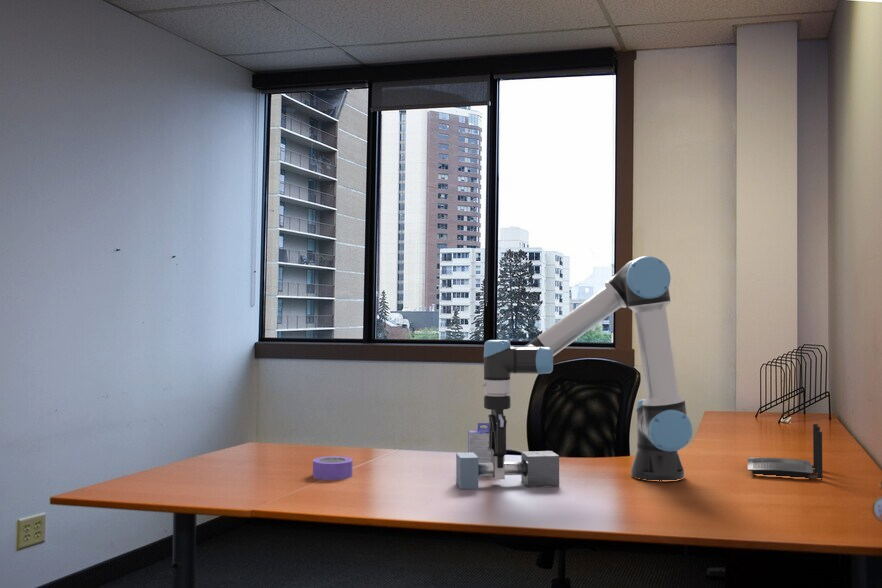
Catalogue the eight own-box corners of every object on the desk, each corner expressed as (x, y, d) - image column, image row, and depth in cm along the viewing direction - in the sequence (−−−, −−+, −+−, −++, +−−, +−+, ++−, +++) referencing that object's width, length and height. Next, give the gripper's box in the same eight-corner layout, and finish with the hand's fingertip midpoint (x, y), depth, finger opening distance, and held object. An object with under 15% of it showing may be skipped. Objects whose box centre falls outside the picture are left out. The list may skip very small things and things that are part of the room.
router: (748, 465, 263) (747, 418, 263) (817, 469, 255) (817, 422, 256) (747, 478, 243) (747, 427, 243) (822, 483, 236) (822, 431, 236)
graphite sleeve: (551, 480, 239) (551, 450, 239) (559, 486, 231) (559, 455, 231) (521, 481, 237) (521, 451, 238) (527, 487, 229) (527, 456, 230)
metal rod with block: (533, 473, 236) (533, 447, 236) (537, 476, 231) (537, 450, 232) (473, 474, 234) (473, 448, 234) (476, 478, 229) (476, 451, 229)
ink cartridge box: (499, 469, 255) (499, 422, 255) (500, 472, 249) (500, 425, 250) (467, 469, 255) (467, 422, 255) (468, 472, 249) (468, 425, 250)
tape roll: (360, 476, 246) (360, 459, 246) (330, 482, 237) (330, 464, 237) (335, 470, 254) (335, 454, 254) (304, 476, 245) (304, 459, 245)
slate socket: (473, 482, 236) (473, 452, 236) (478, 488, 228) (478, 457, 228) (456, 483, 235) (456, 452, 235) (460, 489, 227) (460, 457, 227)
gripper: (478, 391, 241) (478, 471, 241) (490, 398, 223) (490, 484, 223) (503, 391, 242) (504, 470, 242) (517, 397, 224) (517, 483, 224)
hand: (497, 477), depth 232 cm, fingers closed on metal rod with block, 5 cm apart
